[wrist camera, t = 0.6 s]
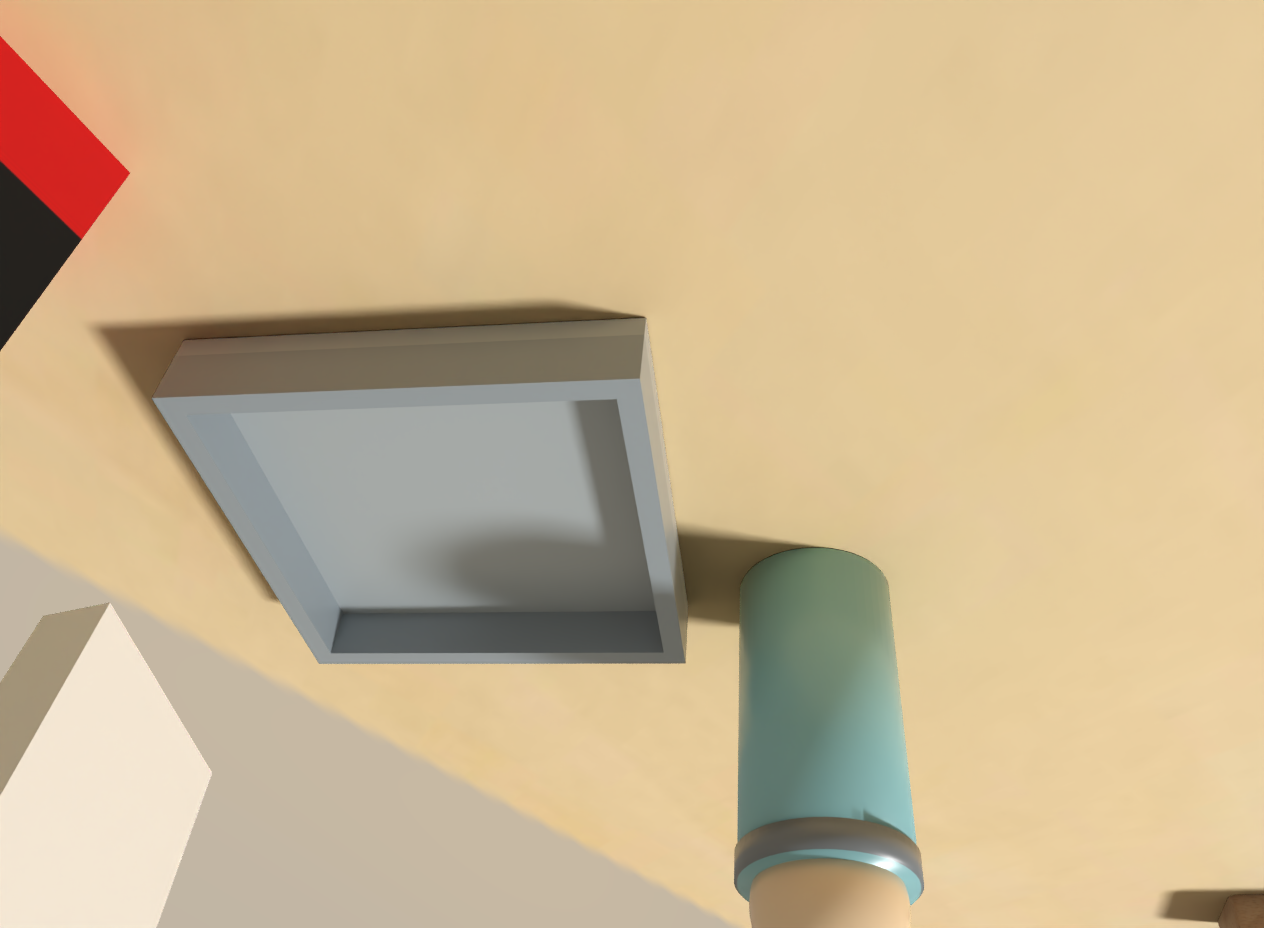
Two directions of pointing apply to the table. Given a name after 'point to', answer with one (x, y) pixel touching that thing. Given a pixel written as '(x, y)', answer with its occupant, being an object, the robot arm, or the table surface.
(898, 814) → the ball tube
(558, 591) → the tray
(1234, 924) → the wooden block set
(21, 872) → the robot arm
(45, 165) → the puzzle toy
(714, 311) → the table surface
